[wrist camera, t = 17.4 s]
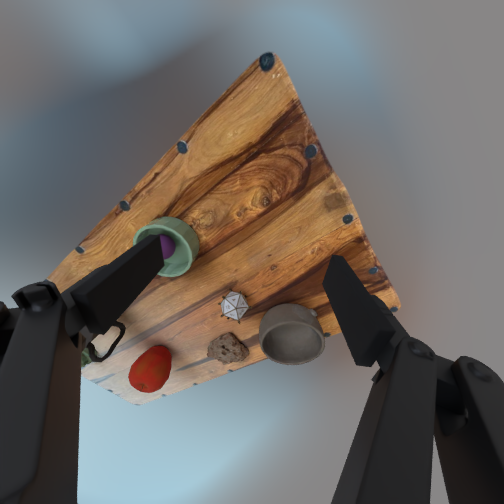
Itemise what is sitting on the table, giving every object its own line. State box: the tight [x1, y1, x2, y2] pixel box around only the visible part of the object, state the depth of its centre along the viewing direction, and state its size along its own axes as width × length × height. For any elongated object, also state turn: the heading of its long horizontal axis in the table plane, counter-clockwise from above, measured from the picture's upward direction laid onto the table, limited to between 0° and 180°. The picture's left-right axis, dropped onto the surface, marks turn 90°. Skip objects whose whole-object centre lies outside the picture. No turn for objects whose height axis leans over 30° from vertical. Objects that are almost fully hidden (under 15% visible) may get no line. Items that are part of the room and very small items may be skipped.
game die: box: [218, 289, 252, 324], centre depth 51 cm, size 9×8×10 cm
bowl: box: [259, 303, 325, 365], centre depth 53 cm, size 17×18×10 cm
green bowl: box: [133, 217, 200, 277], centre depth 45 cm, size 13×13×6 cm
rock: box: [207, 333, 249, 364], centre depth 65 cm, size 14×13×4 cm
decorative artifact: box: [81, 348, 97, 367], centre depth 70 cm, size 10×7×10 cm
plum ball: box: [158, 234, 176, 260], centre depth 44 cm, size 6×6×6 cm
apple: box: [128, 346, 172, 393], centre depth 63 cm, size 12×12×14 cm
